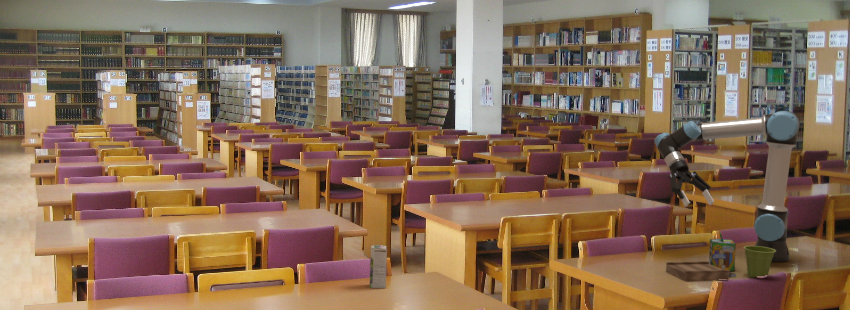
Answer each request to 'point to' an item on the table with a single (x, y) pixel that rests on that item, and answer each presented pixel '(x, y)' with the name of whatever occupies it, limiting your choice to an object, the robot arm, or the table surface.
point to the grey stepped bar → (732, 274)
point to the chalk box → (722, 254)
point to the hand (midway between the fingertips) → (699, 204)
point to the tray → (696, 271)
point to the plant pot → (758, 260)
